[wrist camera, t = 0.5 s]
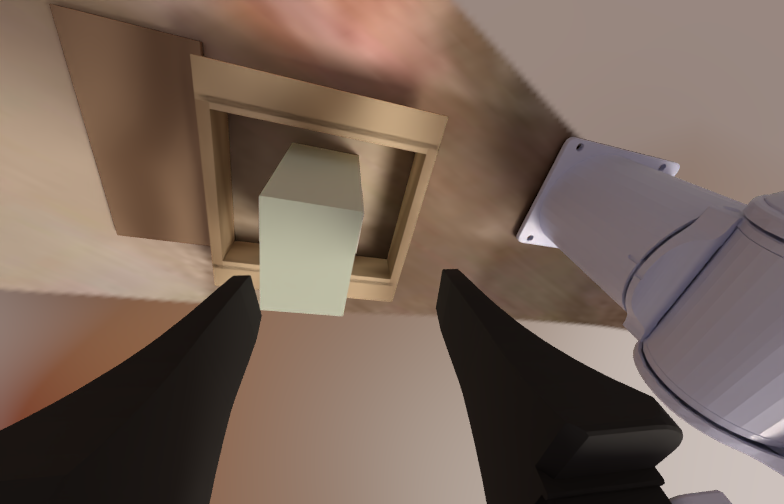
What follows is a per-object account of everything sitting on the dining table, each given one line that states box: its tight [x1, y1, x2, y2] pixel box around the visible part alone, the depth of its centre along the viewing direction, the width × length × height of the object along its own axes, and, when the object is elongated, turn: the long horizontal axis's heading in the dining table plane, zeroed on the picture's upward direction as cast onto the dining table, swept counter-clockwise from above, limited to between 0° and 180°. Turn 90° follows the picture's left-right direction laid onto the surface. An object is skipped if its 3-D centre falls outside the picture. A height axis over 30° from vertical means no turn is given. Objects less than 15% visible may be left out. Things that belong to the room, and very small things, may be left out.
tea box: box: [259, 142, 364, 316], centre depth 17 cm, size 4×6×8 cm
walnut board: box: [49, 4, 210, 246], centre depth 17 cm, size 6×12×1 cm, turn 167°
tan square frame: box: [190, 54, 448, 302], centre depth 19 cm, size 12×13×2 cm
